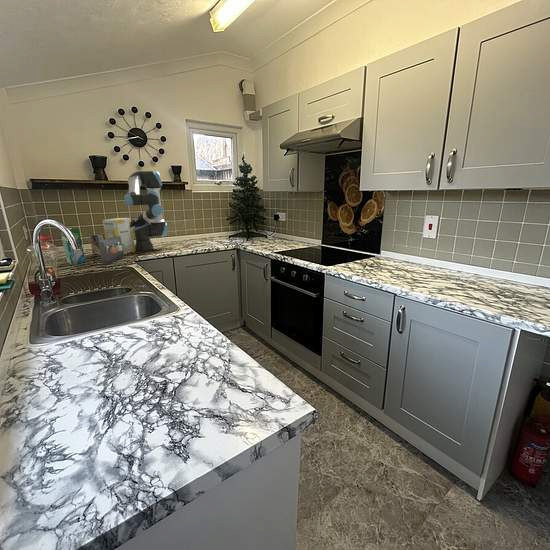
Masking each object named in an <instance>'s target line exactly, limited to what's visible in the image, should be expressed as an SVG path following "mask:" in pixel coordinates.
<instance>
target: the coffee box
mask: <svg viewBox="0 0 550 550" xmlns="http://www.w3.org/2000/svg"><path fill="white" fill-rule="evenodd" d="M88 237H89V241H90V246H91V250H92V251H91V252H92V255H93V254H98V255H97V256H101V255H100V250H99V245H98V242H99V241H102V240H106V237H105V234H91V235H89V236H88Z"/></svg>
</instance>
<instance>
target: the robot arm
mask: <svg viewBox="0 0 550 550" xmlns="http://www.w3.org/2000/svg"><path fill="white" fill-rule="evenodd" d="M127 184H128V193H127V194H125V195H124V202H125V205H127V206H147V207H148V209H147V210H146V211H144V212H141V214H139V216H138V217H137V218H135V217H132V218H131V222H130V226H128V230H133V233H134V240H135V250H136V252H138V251H142V252H149V251H148V250H150V251H153V250H154V249H155V248H154V245H153V243H152V241H151V238H162V237H167V235H168V223H167V222H166V220H165V219H164V217H163V212H164V208H163V206H162V201H161V195H160V190H161V189H162V186H163V183H162V177H161V175H160V172H159V171H157V170H141V171H140V170H138V171H134V172H133V173H131V174H130V176H129V177H128V179H127ZM141 187H145V189H146V190H147V192H146V193H145V194H144V193H141ZM152 249H153V250H152Z"/></svg>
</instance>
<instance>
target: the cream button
mask: <svg viewBox="0 0 550 550" xmlns="http://www.w3.org/2000/svg"><path fill="white" fill-rule="evenodd" d="M116 248H117V251H122V249H123V248H122V246H121V245H116Z"/></svg>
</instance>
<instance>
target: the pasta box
mask: <svg viewBox="0 0 550 550" xmlns="http://www.w3.org/2000/svg"><path fill="white" fill-rule="evenodd" d="M131 221H132V218H131V217H117V218H116V217H115V218H109V219H103V220H102V225H103V230H104V238H105V240H106V239H109V238H112V237H115V236H121V242H122V243H126V244H127V249H123V254H125V255H128V254H127V253H129V254H131V253H130V252H132V253H134V252H133V251H136V250H135V244H136V242H135V236H134V229H132V230H128V226H130V222H131ZM136 252H137V251H136Z"/></svg>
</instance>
